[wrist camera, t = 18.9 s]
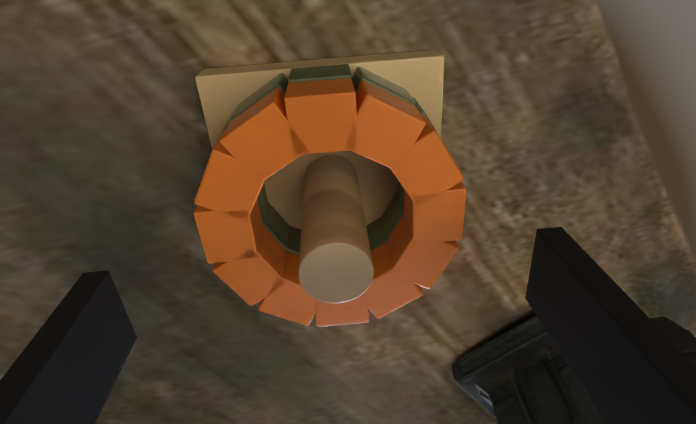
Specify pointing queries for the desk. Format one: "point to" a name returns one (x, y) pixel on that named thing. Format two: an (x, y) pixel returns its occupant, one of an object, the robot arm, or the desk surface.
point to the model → (525, 379)
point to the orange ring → (321, 137)
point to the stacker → (328, 165)
